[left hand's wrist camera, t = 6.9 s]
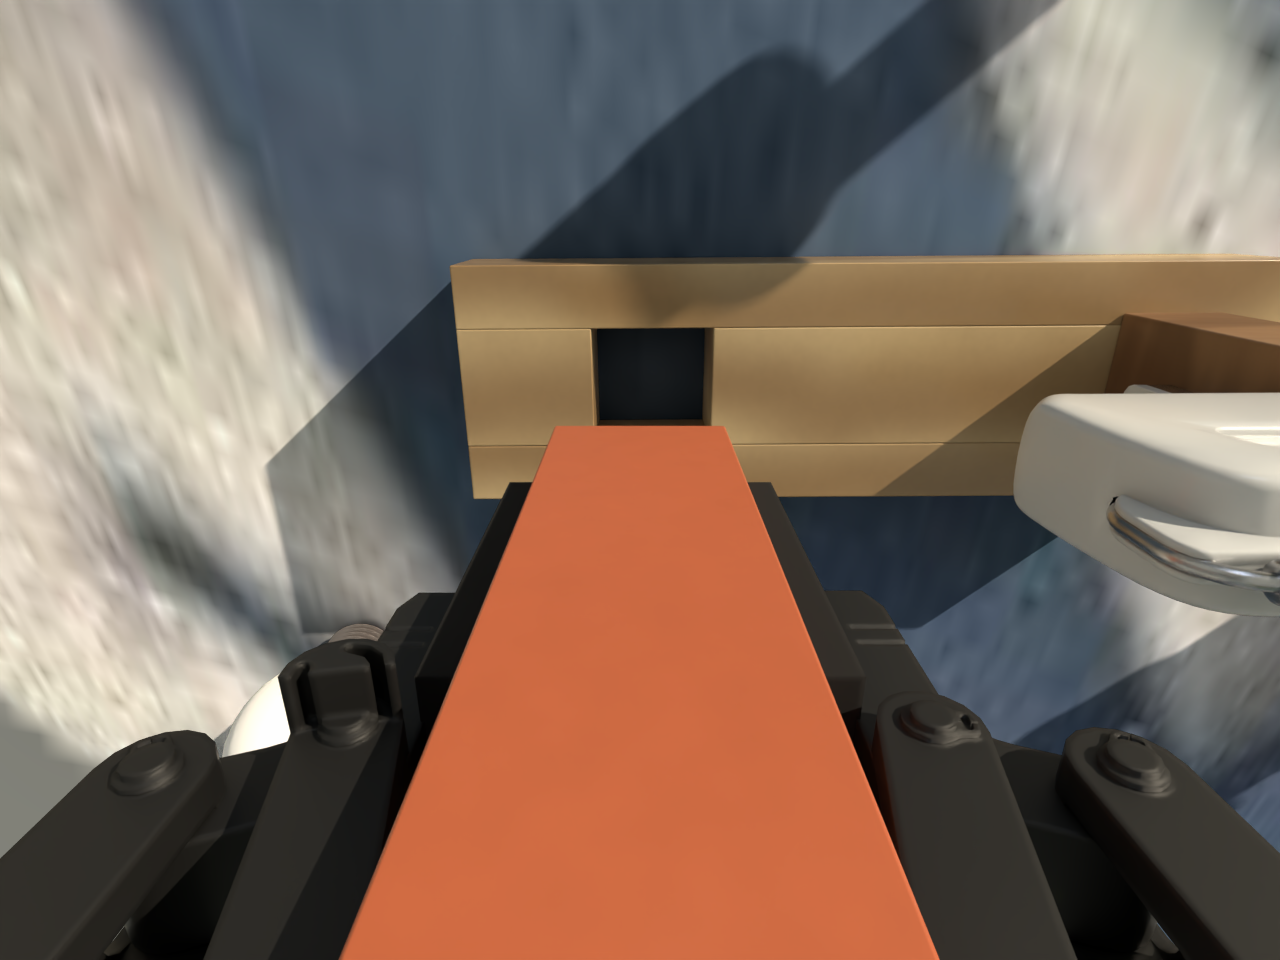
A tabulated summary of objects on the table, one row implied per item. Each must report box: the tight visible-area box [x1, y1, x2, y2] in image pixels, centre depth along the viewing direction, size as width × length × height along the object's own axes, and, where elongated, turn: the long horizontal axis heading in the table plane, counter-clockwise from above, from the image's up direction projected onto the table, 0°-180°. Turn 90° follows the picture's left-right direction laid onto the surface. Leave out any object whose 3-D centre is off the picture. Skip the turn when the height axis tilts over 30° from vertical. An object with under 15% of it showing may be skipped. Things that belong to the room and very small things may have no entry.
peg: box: [339, 426, 940, 960], centre depth 10 cm, size 4×4×14 cm
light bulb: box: [222, 624, 383, 757], centre depth 33 cm, size 7×7×11 cm
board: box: [450, 254, 1280, 499], centre depth 27 cm, size 10×34×12 cm, turn 90°
